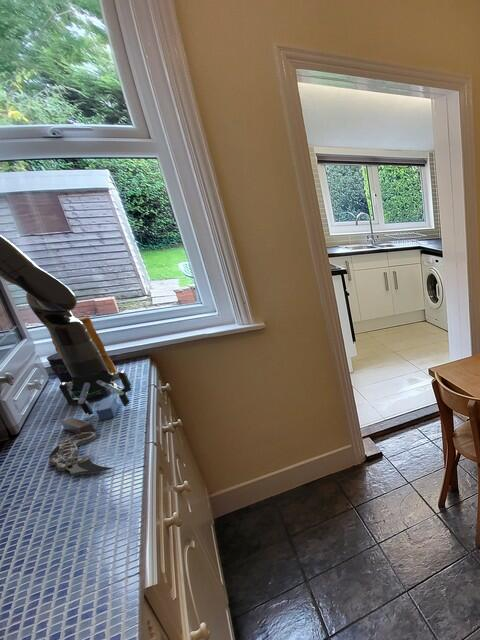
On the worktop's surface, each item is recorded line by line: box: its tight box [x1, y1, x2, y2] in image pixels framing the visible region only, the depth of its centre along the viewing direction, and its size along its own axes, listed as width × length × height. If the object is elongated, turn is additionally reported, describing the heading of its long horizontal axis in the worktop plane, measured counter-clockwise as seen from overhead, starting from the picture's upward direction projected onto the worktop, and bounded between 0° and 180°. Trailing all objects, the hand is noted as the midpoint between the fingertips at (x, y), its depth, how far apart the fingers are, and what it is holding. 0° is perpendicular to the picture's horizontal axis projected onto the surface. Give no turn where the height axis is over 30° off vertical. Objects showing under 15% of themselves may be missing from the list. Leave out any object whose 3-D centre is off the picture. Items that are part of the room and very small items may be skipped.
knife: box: [47, 432, 114, 475], centre depth 99 cm, size 28×2×10 cm
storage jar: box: [46, 352, 112, 403], centre depth 129 cm, size 10×10×15 cm
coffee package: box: [50, 316, 118, 381], centre depth 140 cm, size 10×12×22 cm
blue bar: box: [95, 396, 120, 421], centre depth 120 cm, size 10×3×3 cm, turn 36°
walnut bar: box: [60, 417, 96, 434], centre depth 111 cm, size 10×2×2 cm, turn 66°
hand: (108, 409), depth 121 cm, fingers open, 7 cm apart
